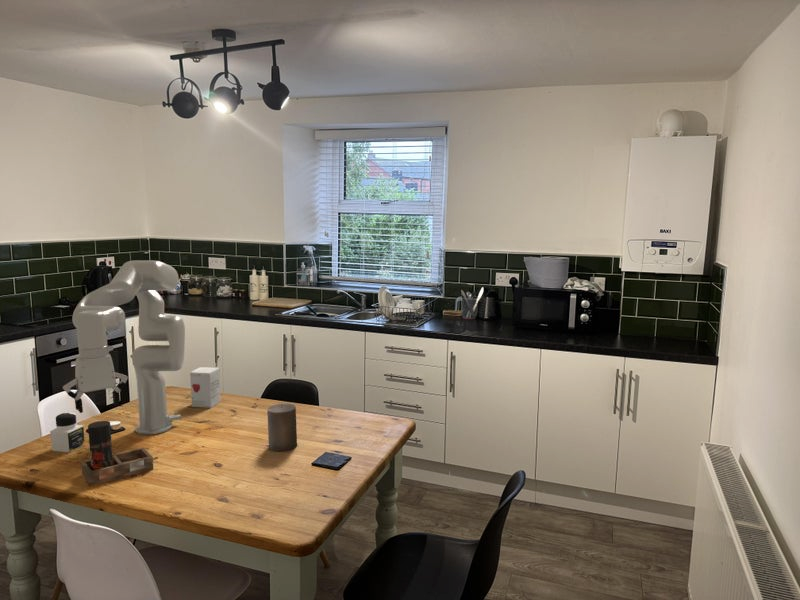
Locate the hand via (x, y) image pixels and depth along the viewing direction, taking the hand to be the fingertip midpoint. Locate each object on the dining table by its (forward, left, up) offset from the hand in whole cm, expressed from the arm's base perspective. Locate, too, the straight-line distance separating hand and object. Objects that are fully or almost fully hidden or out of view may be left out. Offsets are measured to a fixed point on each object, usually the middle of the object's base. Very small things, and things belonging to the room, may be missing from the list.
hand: (98, 408), depth 172 cm
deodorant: (0, 0, -20) cm, 20 cm away
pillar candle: (-53, +14, -21) cm, 59 cm away
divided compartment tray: (-4, 0, -21) cm, 22 cm away
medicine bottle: (+4, -31, -21) cm, 38 cm away
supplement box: (-50, -47, -21) cm, 72 cm away
